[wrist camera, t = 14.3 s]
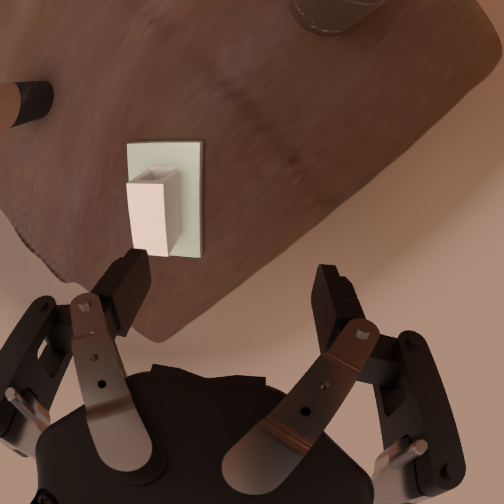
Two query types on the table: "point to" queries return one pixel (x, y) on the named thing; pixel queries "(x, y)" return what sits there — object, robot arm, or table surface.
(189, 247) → the board
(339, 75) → the table surface
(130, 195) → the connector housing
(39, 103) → the travel mug
